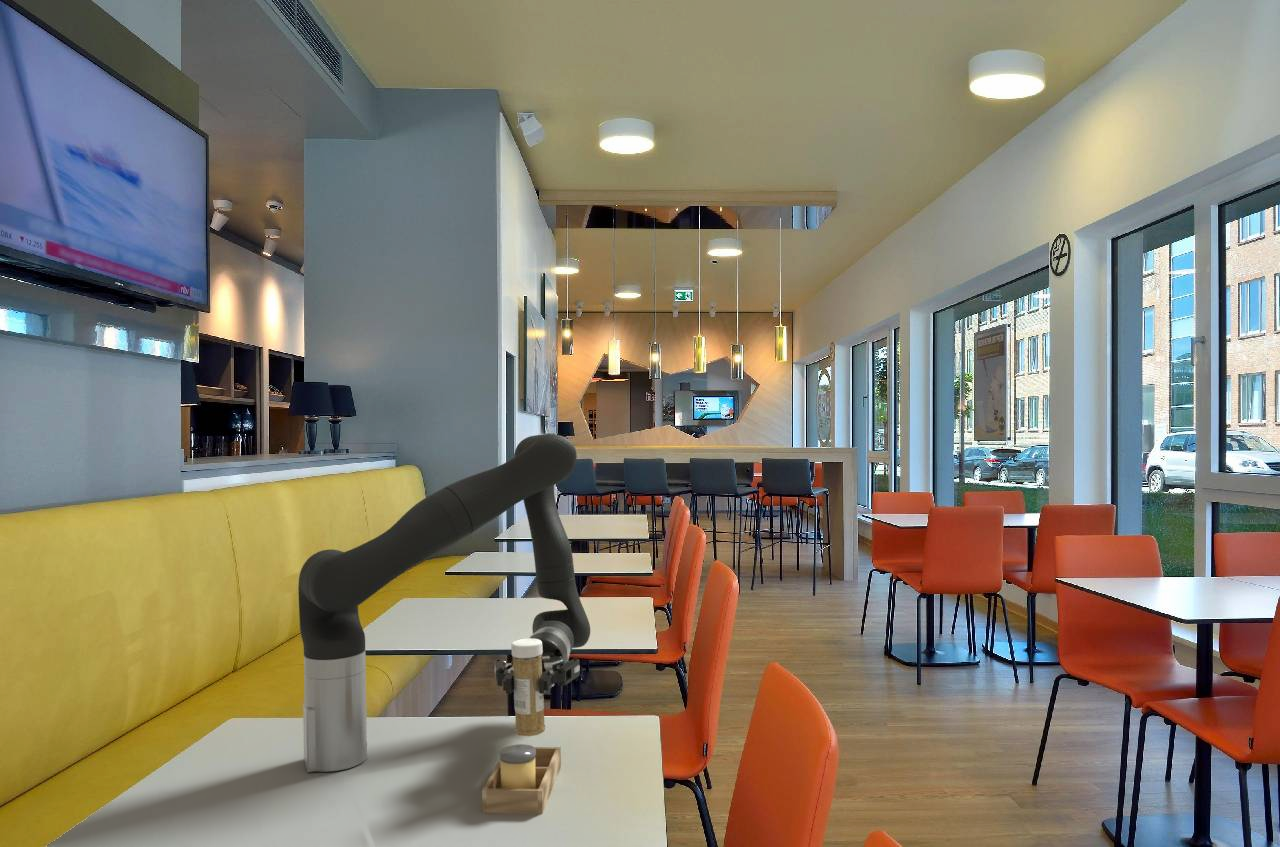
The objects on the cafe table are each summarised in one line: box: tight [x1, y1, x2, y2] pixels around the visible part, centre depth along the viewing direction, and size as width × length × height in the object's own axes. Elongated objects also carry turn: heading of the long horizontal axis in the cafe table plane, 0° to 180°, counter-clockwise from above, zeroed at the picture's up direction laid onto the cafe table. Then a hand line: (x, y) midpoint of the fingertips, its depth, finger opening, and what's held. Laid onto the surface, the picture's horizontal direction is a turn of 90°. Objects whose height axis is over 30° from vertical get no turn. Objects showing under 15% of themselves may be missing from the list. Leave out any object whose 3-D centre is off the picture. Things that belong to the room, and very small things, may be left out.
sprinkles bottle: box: [511, 637, 546, 737], centre depth 128 cm, size 5×5×13 cm
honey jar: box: [499, 743, 536, 789], centre depth 120 cm, size 5×5×7 cm
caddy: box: [481, 746, 562, 815], centre depth 124 cm, size 16×8×4 cm, turn 176°
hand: (524, 686), depth 125 cm, fingers closed on sprinkles bottle, 4 cm apart
